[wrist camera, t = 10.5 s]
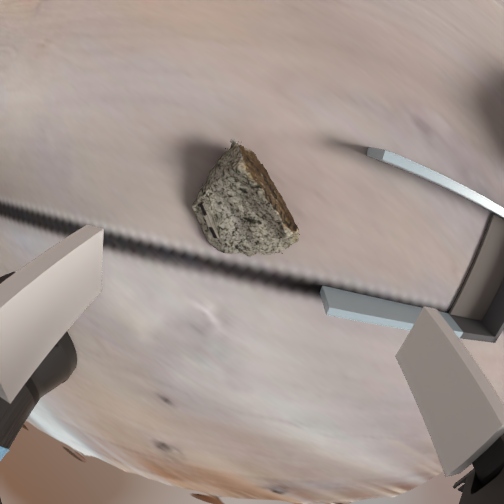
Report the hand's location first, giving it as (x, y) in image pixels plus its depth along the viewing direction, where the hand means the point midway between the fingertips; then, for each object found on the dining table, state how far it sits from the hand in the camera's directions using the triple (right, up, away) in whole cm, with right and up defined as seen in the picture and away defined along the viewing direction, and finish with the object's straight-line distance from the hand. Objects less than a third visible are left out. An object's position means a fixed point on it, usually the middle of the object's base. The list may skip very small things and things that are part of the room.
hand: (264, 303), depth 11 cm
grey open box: (+28, 0, +16) cm, 32 cm away
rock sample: (-1, +6, +16) cm, 17 cm away
